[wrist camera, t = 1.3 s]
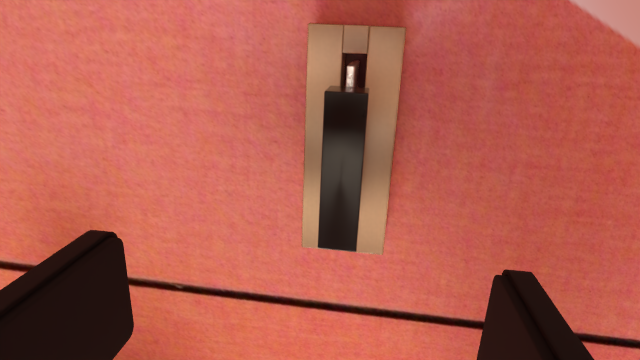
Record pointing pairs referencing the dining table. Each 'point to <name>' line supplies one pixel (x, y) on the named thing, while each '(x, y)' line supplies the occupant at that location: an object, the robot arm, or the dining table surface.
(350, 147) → the knife
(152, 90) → the dining table surface
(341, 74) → the knife block
